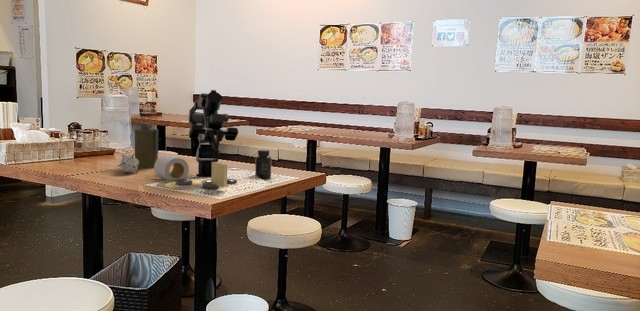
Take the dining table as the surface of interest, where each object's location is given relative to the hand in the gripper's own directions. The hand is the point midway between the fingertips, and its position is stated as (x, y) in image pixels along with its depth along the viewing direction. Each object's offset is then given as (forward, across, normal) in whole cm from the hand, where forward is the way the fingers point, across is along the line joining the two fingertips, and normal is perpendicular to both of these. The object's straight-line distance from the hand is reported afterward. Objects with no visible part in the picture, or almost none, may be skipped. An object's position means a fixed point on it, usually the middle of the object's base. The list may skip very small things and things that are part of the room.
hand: (216, 150), depth 191 cm
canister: (-21, -18, +45) cm, 53 cm away
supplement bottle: (+4, +24, +14) cm, 28 cm away
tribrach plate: (+13, -4, +6) cm, 15 cm away
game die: (-10, -27, +34) cm, 45 cm away
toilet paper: (+4, -14, +18) cm, 23 cm away
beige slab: (+20, -4, -3) cm, 20 cm away
